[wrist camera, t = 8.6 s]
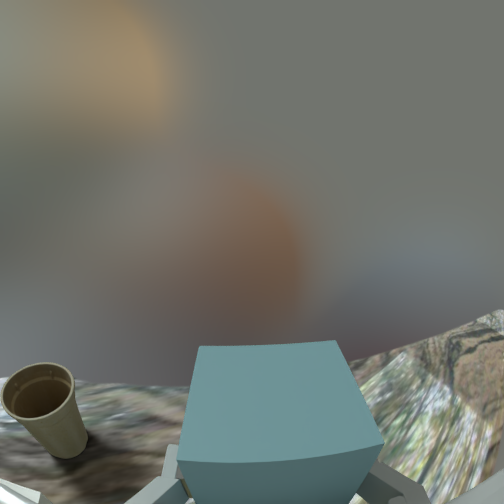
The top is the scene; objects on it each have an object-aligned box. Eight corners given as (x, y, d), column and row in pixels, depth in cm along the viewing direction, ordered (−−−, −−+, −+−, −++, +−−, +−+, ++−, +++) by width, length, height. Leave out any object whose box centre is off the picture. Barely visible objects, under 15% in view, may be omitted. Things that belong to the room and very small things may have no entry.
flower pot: (115, 430, 26) (91, 377, 23) (74, 484, 17) (34, 434, 14) (63, 405, 28) (38, 353, 25) (23, 446, 19) (-13, 394, 16)
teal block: (221, 550, 7) (175, 459, 5) (223, 484, 12) (199, 345, 9) (317, 544, 8) (384, 443, 5) (305, 479, 12) (335, 340, 9)
